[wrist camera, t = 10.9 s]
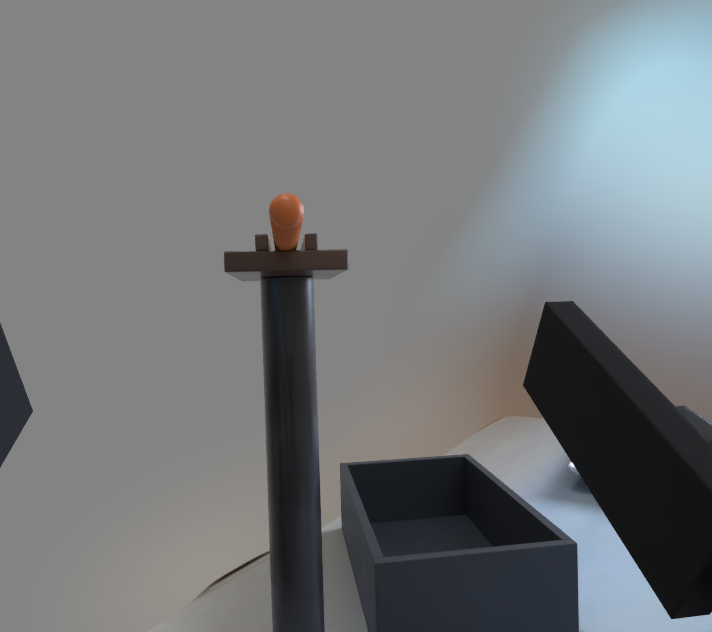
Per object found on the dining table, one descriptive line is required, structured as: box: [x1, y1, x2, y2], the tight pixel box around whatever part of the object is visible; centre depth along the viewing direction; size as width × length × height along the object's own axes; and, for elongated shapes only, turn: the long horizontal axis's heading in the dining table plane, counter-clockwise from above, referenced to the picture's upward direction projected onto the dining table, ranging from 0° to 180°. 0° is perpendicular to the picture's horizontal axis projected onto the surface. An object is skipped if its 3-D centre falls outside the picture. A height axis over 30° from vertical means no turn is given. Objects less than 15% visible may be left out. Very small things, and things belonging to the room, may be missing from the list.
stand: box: [224, 234, 348, 632], centre depth 31 cm, size 10×8×30 cm
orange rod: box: [269, 193, 304, 251], centre depth 27 cm, size 20×1×1 cm, turn 8°
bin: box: [340, 454, 579, 632], centre depth 50 cm, size 24×16×8 cm, turn 8°
